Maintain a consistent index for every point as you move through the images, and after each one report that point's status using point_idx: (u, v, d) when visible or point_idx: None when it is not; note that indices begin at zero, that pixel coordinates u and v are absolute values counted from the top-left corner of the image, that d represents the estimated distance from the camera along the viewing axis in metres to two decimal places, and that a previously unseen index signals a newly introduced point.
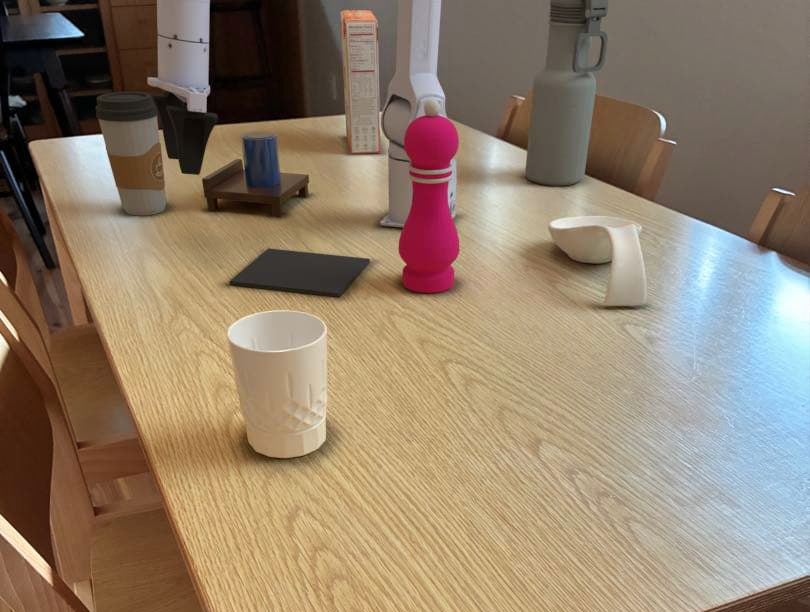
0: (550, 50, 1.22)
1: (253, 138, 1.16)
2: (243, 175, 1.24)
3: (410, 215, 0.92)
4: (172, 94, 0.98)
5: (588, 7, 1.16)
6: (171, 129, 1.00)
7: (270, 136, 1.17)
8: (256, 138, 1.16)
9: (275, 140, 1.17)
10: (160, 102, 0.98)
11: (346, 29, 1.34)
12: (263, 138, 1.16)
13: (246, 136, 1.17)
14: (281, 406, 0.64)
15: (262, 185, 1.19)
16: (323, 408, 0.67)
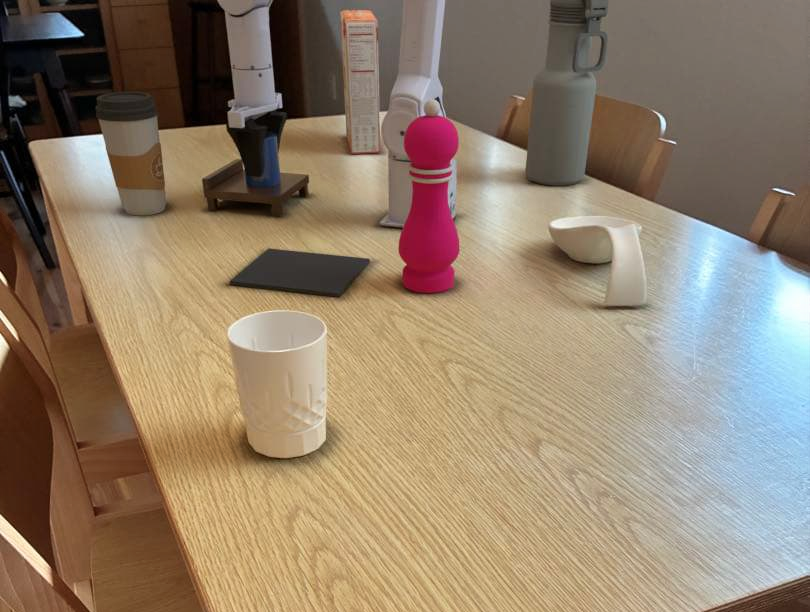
0: (550, 50, 1.22)
1: None
2: (243, 175, 1.24)
3: (410, 215, 0.92)
4: None
5: (588, 7, 1.16)
6: None
7: (270, 136, 1.17)
8: None
9: (275, 140, 1.17)
10: None
11: (346, 29, 1.34)
12: None
13: None
14: (281, 406, 0.64)
15: (262, 185, 1.19)
16: (323, 408, 0.67)
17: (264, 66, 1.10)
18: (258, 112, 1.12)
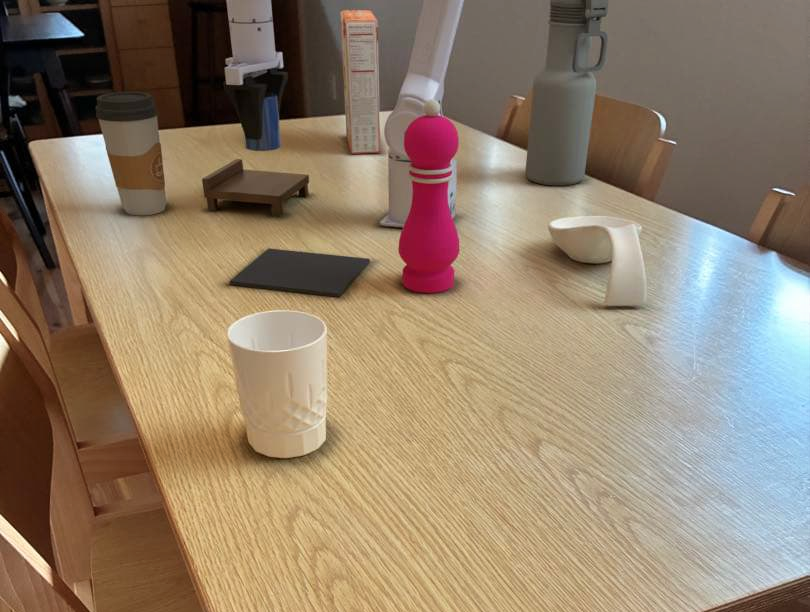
0: (550, 50, 1.22)
1: None
2: (243, 175, 1.24)
3: (410, 215, 0.92)
4: None
5: (588, 7, 1.16)
6: None
7: (270, 96, 1.10)
8: None
9: (275, 100, 1.11)
10: None
11: (346, 29, 1.34)
12: None
13: None
14: (281, 406, 0.64)
15: (261, 149, 1.13)
16: (323, 408, 0.67)
17: (266, 19, 1.04)
18: (257, 69, 1.06)
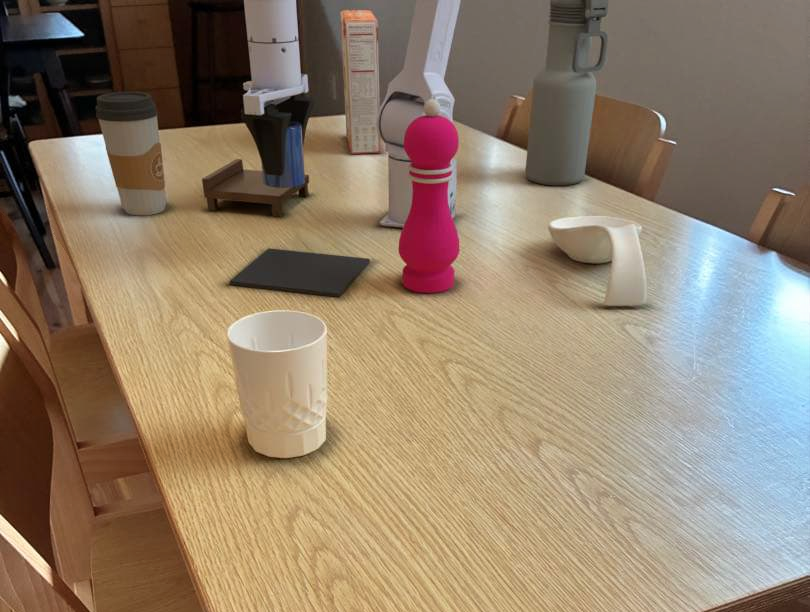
0: (550, 50, 1.22)
1: None
2: (243, 175, 1.24)
3: (410, 215, 0.92)
4: None
5: (588, 7, 1.16)
6: None
7: (293, 126, 0.96)
8: None
9: (299, 131, 0.96)
10: None
11: (346, 29, 1.34)
12: None
13: None
14: (281, 406, 0.64)
15: (283, 185, 0.98)
16: (323, 408, 0.67)
17: None
18: (280, 96, 0.91)
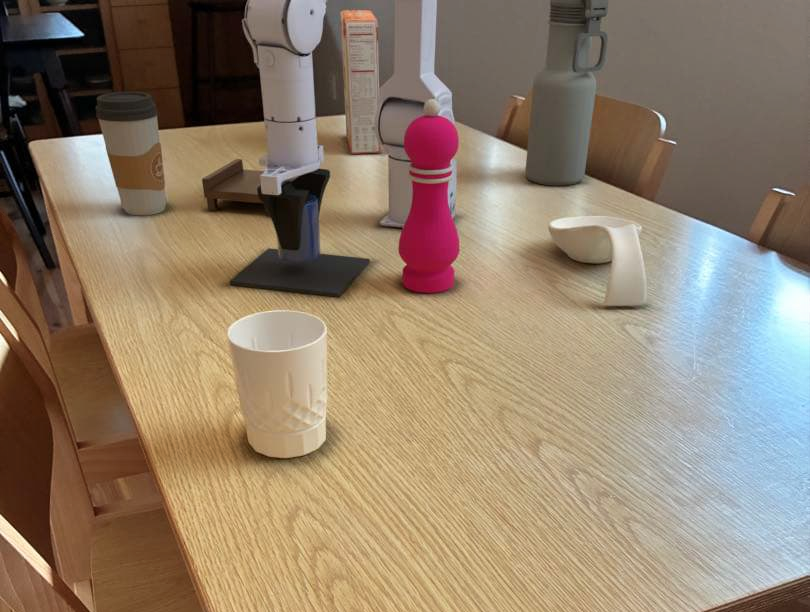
0: (550, 50, 1.22)
1: None
2: (243, 175, 1.24)
3: (410, 215, 0.92)
4: None
5: (588, 7, 1.16)
6: None
7: (310, 201, 0.94)
8: None
9: (316, 205, 0.95)
10: None
11: (346, 29, 1.34)
12: None
13: None
14: (281, 406, 0.64)
15: (299, 259, 0.97)
16: (323, 408, 0.67)
17: None
18: (298, 174, 0.89)
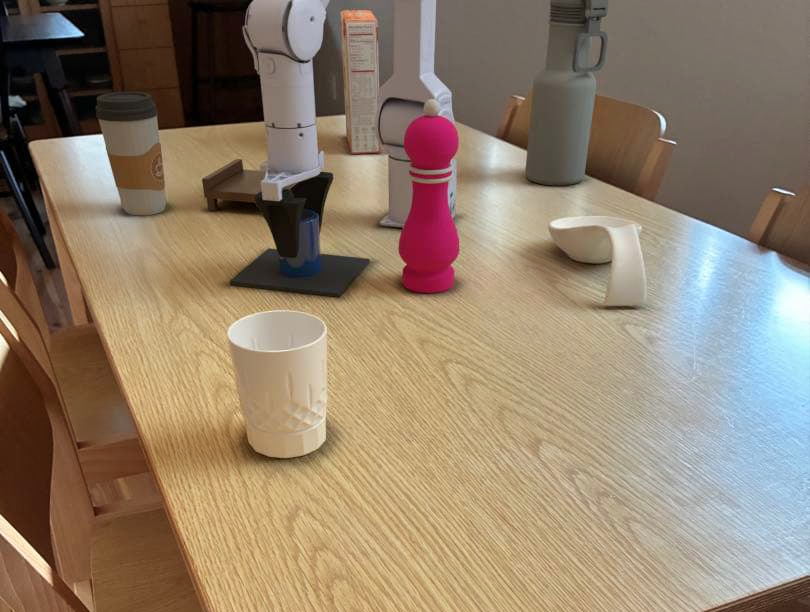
0: (550, 50, 1.22)
1: None
2: (243, 175, 1.24)
3: (410, 215, 0.92)
4: None
5: (588, 7, 1.16)
6: (303, 207, 0.99)
7: (311, 217, 0.95)
8: None
9: (317, 222, 0.96)
10: None
11: (346, 29, 1.34)
12: (302, 220, 0.94)
13: None
14: (281, 406, 0.64)
15: (300, 275, 0.98)
16: (323, 408, 0.67)
17: None
18: (298, 180, 0.90)
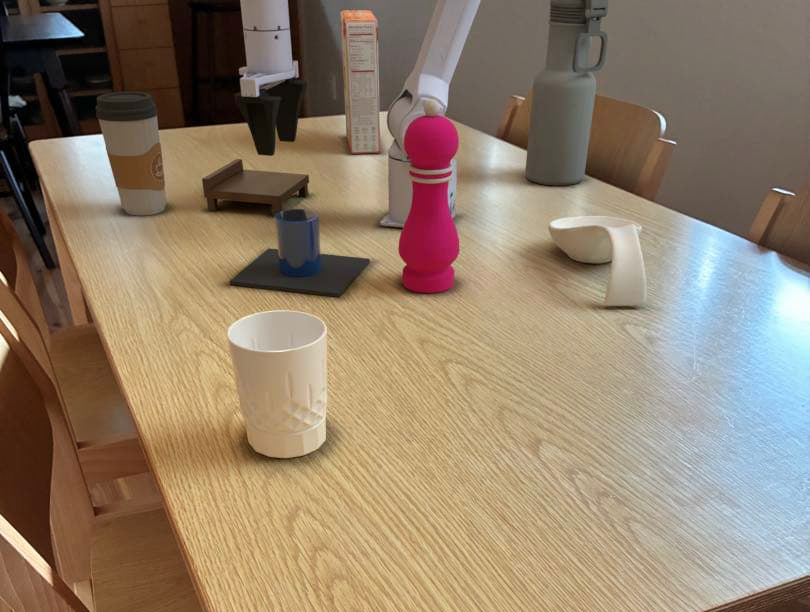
0: (550, 50, 1.22)
1: (290, 220, 0.94)
2: (243, 175, 1.24)
3: (410, 215, 0.92)
4: None
5: (588, 7, 1.16)
6: (280, 113, 1.09)
7: (311, 217, 0.95)
8: (294, 220, 0.94)
9: (317, 222, 0.96)
10: (269, 89, 1.07)
11: (346, 29, 1.34)
12: (302, 220, 0.94)
13: (281, 217, 0.95)
14: (281, 406, 0.64)
15: (300, 275, 0.98)
16: (323, 408, 0.67)
17: (287, 26, 0.99)
18: (274, 79, 0.99)
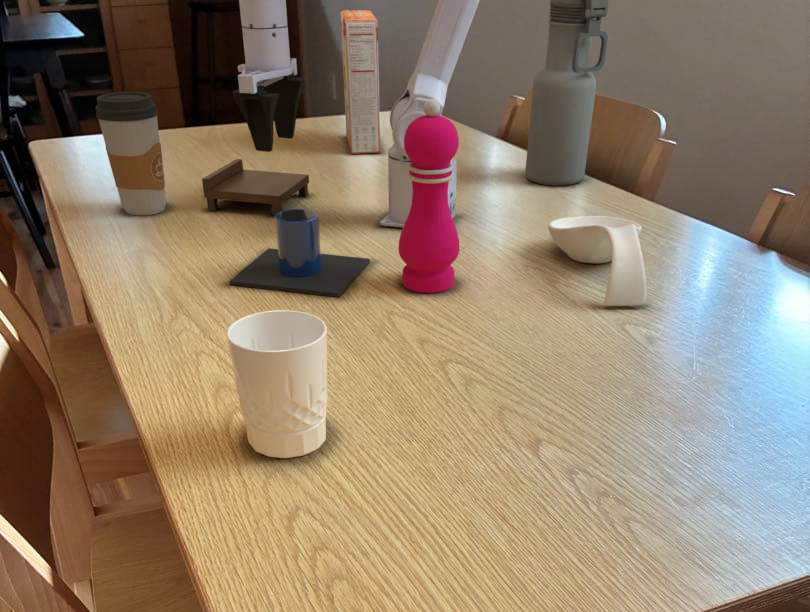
0: (550, 50, 1.22)
1: (290, 220, 0.94)
2: (243, 175, 1.24)
3: (410, 215, 0.92)
4: None
5: (588, 7, 1.16)
6: (278, 110, 1.10)
7: (311, 217, 0.95)
8: (294, 220, 0.94)
9: (317, 222, 0.96)
10: (267, 86, 1.09)
11: (346, 29, 1.34)
12: (302, 220, 0.94)
13: (281, 217, 0.95)
14: (281, 406, 0.64)
15: (300, 275, 0.98)
16: (323, 408, 0.67)
17: (284, 24, 1.00)
18: (272, 76, 1.01)
